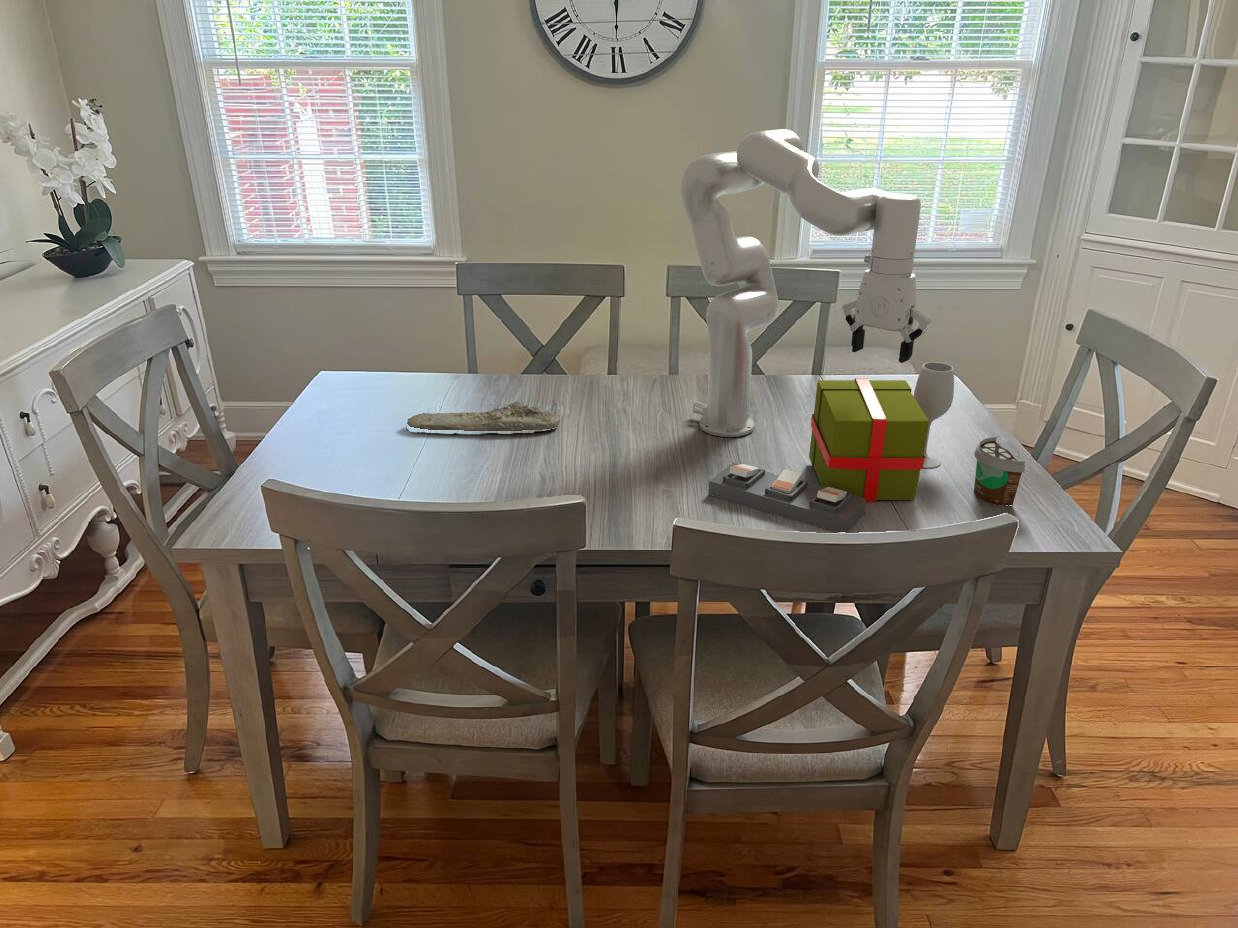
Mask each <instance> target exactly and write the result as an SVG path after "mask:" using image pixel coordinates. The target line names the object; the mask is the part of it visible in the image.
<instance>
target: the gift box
mask: <svg viewBox="0 0 1238 928" xmlns="http://www.w3.org/2000/svg"><path fill="white" fill-rule="evenodd" d="M907 381H908V380H903V379H901V380H900V379H899V380H898V379H897V380H895V379H894V380H893V379H892V380H889V379H885V380H884V379H883V380H881V379H878V380H877V379H875V380H873V379H872V380H870V379H869V378H854V380H853V379H852V380H850V379H849V380H848V379H846V380H845V379H844V380H842V379H841V380H839V379H836V380H835V379H833V380H831V379H829V380H825V379H824V380H823V379H822V380H821V379H820V380H819V379H818V380H817V384H816V392H815V401H814V409H813V413H812V414H811V418H810V427H811V435H810V436H811V437H810V445H809V451H808V452H809V453H808V454H809V455H808V458H809V460H810V463H811V466H812V467H813V468H814V470H815V472H816V475H817V478H818V481H819V484H820V486H821V487H825V486H827V487H831V488H835V489H838V490H842V491H846V492H849V493H853V495H855V496H858V497H862V498H866V499H867V500H866V503H867V502H868V503H873V502H874V503H876V502H877V501H915V500H916V495H917V490H918V485H919V478H920V473H921V470H922V469H924V468H923V464H924V460H925V456H924V454H923V453H924V448H925V443H926V437H927V432H928V426H929V420H928V418H927V417H926V415H925V414H924V412H923V411H922V409H921V407H920V406H919V404H918V403H917V401H916V400H915V398H914V394H912V387H911V386H910V385H909V383H908V382H907Z"/></svg>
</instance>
